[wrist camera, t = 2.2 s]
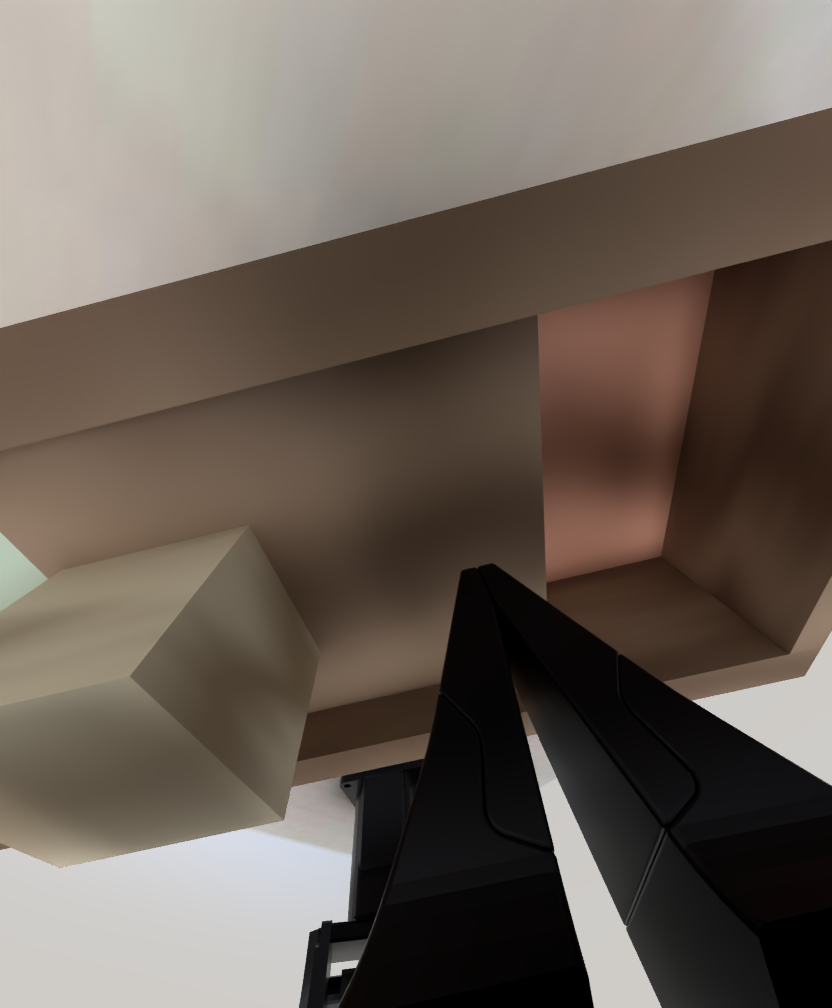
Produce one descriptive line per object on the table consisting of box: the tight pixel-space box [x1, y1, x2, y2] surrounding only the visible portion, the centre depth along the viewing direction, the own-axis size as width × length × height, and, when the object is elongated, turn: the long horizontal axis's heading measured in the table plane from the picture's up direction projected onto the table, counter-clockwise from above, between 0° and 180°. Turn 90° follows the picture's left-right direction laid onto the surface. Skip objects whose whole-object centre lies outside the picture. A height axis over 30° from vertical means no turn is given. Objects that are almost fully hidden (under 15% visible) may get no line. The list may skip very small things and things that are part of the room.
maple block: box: [0, 525, 321, 868], centre depth 7 cm, size 5×5×4 cm
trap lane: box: [0, 108, 832, 850], centre depth 10 cm, size 14×36×6 cm, turn 103°
